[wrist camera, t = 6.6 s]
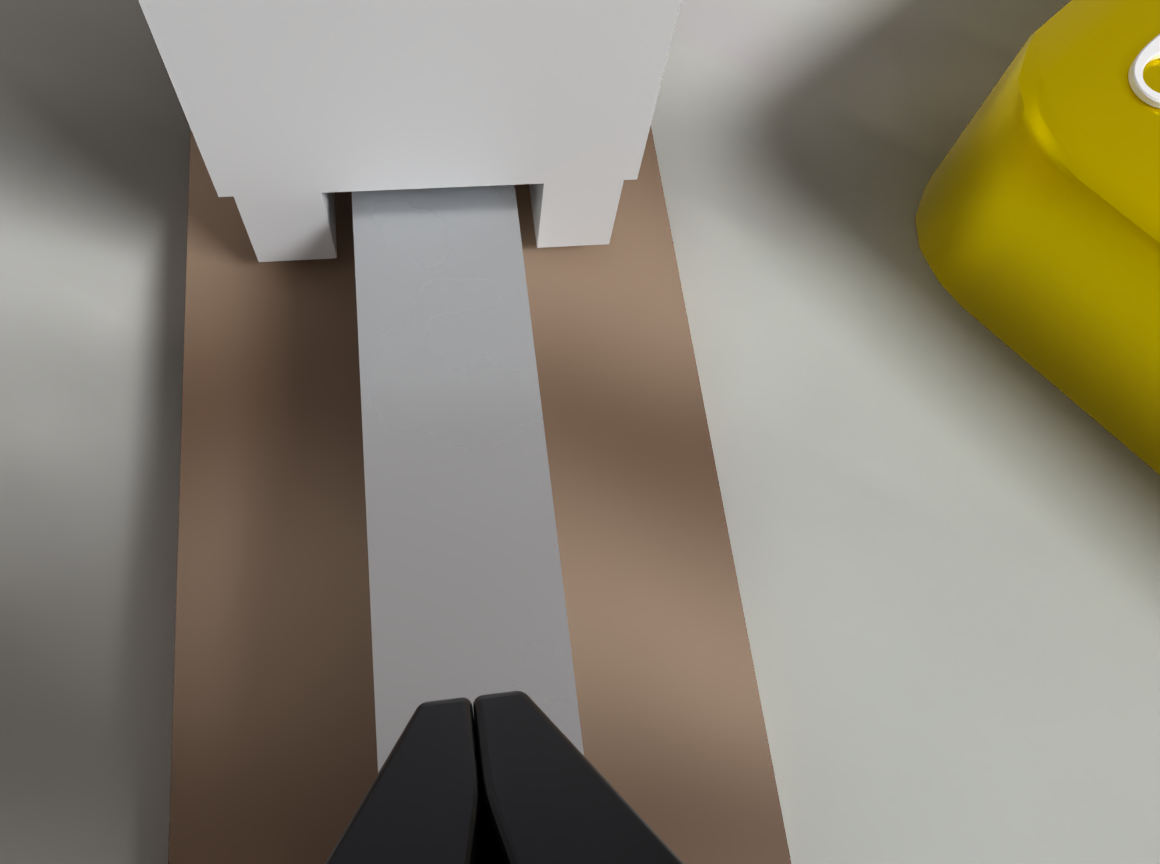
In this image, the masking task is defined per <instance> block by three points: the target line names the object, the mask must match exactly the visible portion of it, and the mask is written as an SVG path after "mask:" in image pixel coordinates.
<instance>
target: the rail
mask: <svg viewBox="0 0 1160 864" xmlns="http://www.w3.org/2000/svg"><path fill="white" fill-rule="evenodd" d="M352 212H353V234H354V256H355V278H356V300H357V322H358V344H359V366H360V388H361V410H362V432H363V454H364V476H365V498H366V520H367V542H368V564H369V586H370V608H371V630H372V652H373V674H374V696H375V718H376V740H377V762H378V773H379V771H380V769H381V768H382V766H383V764H384V763H385V761H386V759H387V758H388V756H389V754H390V752H391V751H392V749H393V747H394V746H395V744H396V742H397V741H398V739H399V737H400V736H401V734H402V732H403V731H404V729H405V727H406V725H407V724H408V722H409V720H410V719H411V717H412V715H413V714H414V712H415V710H416V709H417V707H418V706H419V705H420V704H422V703H424V702H427V701H435V700H444V699H452V698H460V697H465V698H467V699H469V700H470V701H471V703H472V707H473V702H474V700H475V698H477V697H478V696H480V695H485V694H493V693H501V692H510V691H522V692H524V693H526V694H527V695H528V696H529V697H530V698H531V699H532V700H533V702H534V703H535V704H536V705H537V706H538V707H539V708H540V709H541V710H542V711H543V712H544V713H545V714H546V716H547V717H548V718H549V719H550V720H551V721H552V722H553V723H554V724H555V725H556V726H557V727H558V728H559V730H560V731H561V732H562V733H563V734H564V735H565V736H566V737H567V738H568V739H569V740H570V741H571V742H572V744H573V745H574V746H575V747H576V748H577V749H578V750H579V751H580V752H581V753H582V754H583V755H584V751H583V743H582V734H581V726H580V718H579V710H578V702H577V693H576V685H575V677H574V669H573V661H572V652H571V644H570V636H569V628H568V619H567V611H566V603H565V595H564V587H563V578H562V570H561V562H560V554H559V546H558V537H557V529H556V521H555V513H554V504H553V496H552V488H551V480H550V472H549V463H548V455H547V447H546V439H545V431H544V422H543V414H542V406H541V398H540V389H539V381H538V373H537V365H536V357H535V348H534V340H533V332H532V324H531V316H530V307H529V299H528V291H527V283H526V274H525V266H524V258H523V250H522V242H521V233H520V225H519V217H518V209H517V201H516V192H515V185H495V186H471V187H448V188H424V189H400V190H376V191H352ZM473 716H474V714H473Z"/></svg>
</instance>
